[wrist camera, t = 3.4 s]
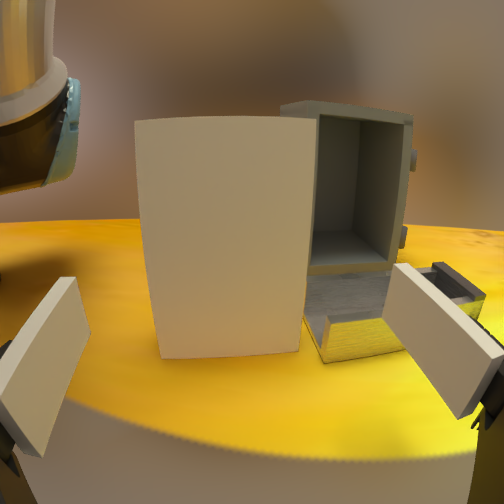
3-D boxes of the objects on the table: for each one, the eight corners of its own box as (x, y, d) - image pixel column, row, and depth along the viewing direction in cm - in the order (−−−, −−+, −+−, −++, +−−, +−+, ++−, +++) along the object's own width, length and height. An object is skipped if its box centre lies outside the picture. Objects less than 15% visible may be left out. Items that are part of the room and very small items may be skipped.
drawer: (323, 363, 22) (332, 317, 20) (300, 311, 28) (304, 270, 26) (472, 332, 23) (486, 294, 22) (434, 296, 30) (443, 261, 28)
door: (161, 358, 22) (134, 121, 15) (166, 327, 25) (147, 121, 19) (298, 351, 23) (316, 118, 17) (286, 321, 26) (298, 119, 20)
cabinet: (298, 277, 34) (307, 100, 27) (276, 237, 45) (280, 105, 38) (401, 270, 36) (421, 116, 29) (361, 235, 47) (371, 114, 40)
